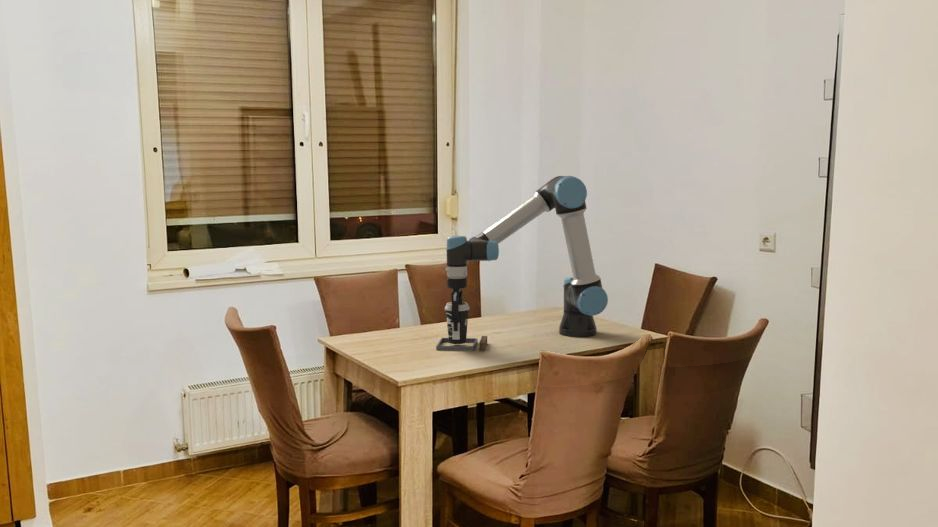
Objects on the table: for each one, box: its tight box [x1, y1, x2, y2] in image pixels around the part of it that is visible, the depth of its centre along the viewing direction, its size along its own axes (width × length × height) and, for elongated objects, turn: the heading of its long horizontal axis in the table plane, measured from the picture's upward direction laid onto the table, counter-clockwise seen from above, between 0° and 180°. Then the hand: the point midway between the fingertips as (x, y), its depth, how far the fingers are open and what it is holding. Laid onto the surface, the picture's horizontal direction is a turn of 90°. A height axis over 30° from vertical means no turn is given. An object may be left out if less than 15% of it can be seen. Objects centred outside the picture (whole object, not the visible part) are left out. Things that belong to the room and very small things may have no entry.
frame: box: [435, 337, 479, 352], centre depth 295 cm, size 14×14×2 cm
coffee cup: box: [444, 301, 471, 345], centre depth 295 cm, size 10×10×15 cm
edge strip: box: [478, 335, 488, 352], centre depth 293 cm, size 2×12×3 cm, turn 173°
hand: (457, 336), depth 295 cm, fingers closed on coffee cup, 7 cm apart
